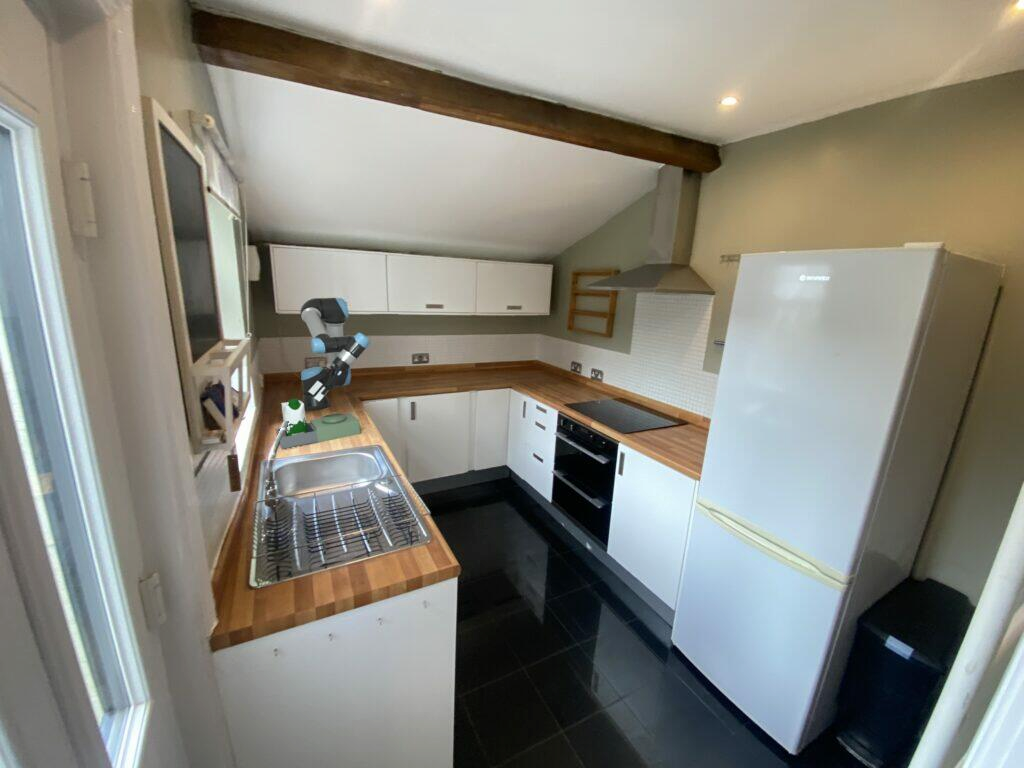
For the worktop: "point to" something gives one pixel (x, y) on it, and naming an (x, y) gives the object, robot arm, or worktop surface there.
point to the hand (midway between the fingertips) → (313, 396)
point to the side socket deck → (323, 430)
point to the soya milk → (294, 417)
